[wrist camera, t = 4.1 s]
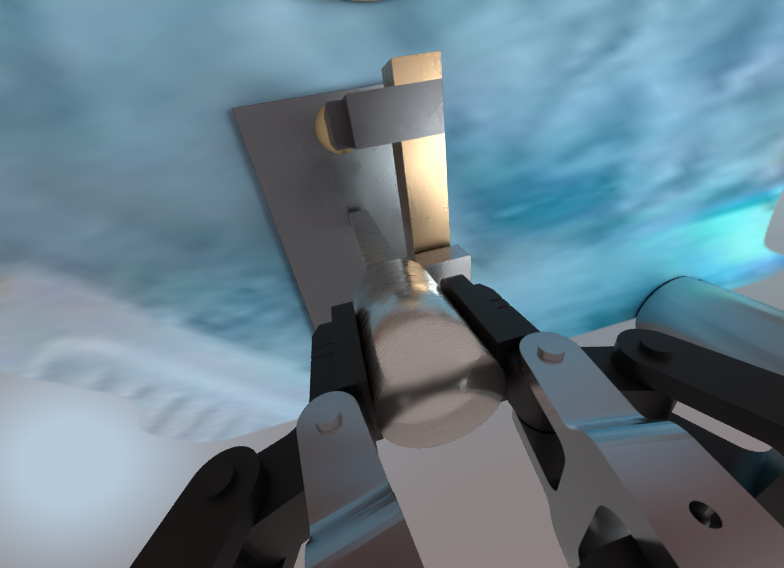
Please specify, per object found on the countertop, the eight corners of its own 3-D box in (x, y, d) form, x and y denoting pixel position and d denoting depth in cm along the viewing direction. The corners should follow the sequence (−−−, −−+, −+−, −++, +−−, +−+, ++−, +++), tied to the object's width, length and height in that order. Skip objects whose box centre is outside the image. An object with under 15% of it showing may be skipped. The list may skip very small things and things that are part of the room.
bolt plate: (416, 81, 19) (528, 17, 9) (437, 327, 30) (499, 428, 20) (237, 110, 18) (120, 74, 7) (328, 357, 29) (333, 483, 18)
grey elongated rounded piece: (396, 188, 20) (576, 315, 6) (402, 229, 22) (555, 407, 8) (332, 201, 20) (362, 376, 5) (343, 243, 22) (388, 462, 7)
